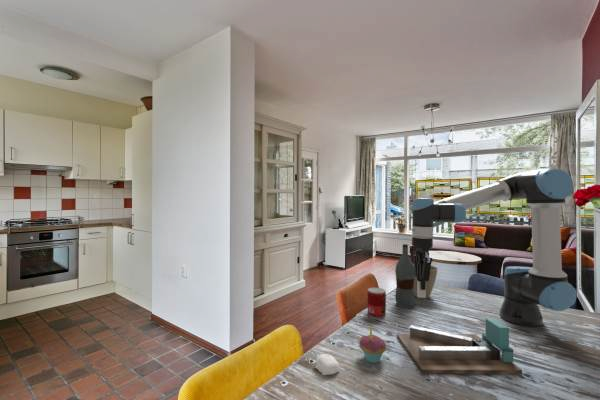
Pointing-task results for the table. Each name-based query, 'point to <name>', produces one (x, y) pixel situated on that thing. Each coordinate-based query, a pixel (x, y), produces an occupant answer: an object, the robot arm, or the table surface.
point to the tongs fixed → (461, 352)
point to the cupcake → (372, 347)
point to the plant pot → (427, 282)
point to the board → (454, 365)
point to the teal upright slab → (499, 338)
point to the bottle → (405, 280)
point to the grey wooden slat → (440, 336)
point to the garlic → (327, 364)
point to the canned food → (377, 302)
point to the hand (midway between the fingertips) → (421, 297)
